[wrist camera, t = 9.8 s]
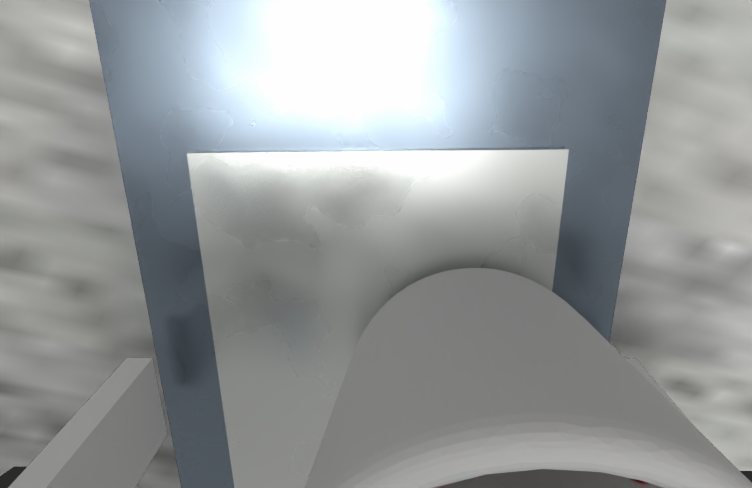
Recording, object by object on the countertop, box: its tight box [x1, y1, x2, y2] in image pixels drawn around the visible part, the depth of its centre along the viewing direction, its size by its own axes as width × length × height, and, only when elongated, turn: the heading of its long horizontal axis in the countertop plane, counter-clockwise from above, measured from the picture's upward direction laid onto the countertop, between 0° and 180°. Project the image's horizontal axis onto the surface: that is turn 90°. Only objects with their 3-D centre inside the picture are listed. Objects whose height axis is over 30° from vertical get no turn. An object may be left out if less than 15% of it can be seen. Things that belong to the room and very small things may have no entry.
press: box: [89, 0, 666, 488], centre depth 13 cm, size 14×26×6 cm, turn 1°
